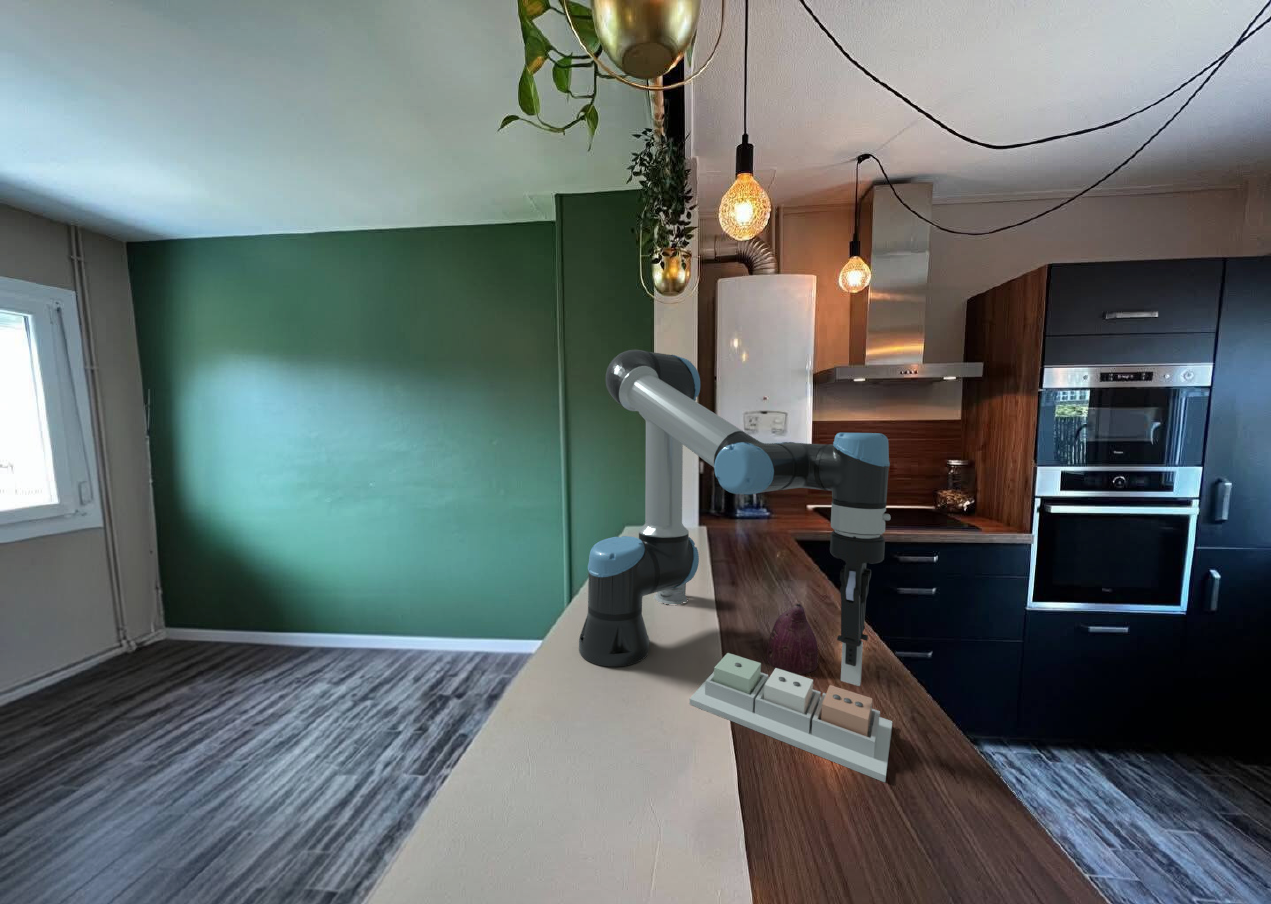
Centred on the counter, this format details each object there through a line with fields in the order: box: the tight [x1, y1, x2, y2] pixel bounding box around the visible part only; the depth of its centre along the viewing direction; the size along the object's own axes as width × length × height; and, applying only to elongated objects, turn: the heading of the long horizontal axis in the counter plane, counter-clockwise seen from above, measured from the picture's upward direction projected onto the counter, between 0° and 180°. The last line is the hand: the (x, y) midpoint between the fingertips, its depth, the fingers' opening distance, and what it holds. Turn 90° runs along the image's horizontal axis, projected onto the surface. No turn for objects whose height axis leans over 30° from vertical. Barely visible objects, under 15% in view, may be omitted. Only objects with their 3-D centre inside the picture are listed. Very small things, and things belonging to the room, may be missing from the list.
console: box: [688, 671, 893, 783], centre depth 76 cm, size 30×14×4 cm, turn 57°
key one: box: [713, 652, 762, 695], centre depth 81 cm, size 6×6×3 cm
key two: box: [764, 667, 814, 714], centre depth 76 cm, size 6×6×3 cm
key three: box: [821, 684, 873, 737], centre depth 71 cm, size 6×6×3 cm
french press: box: [654, 583, 688, 604], centre depth 125 cm, size 10×12×25 cm
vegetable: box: [766, 602, 819, 675], centre depth 92 cm, size 10×10×15 cm
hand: (850, 681), depth 70 cm, fingers closed
